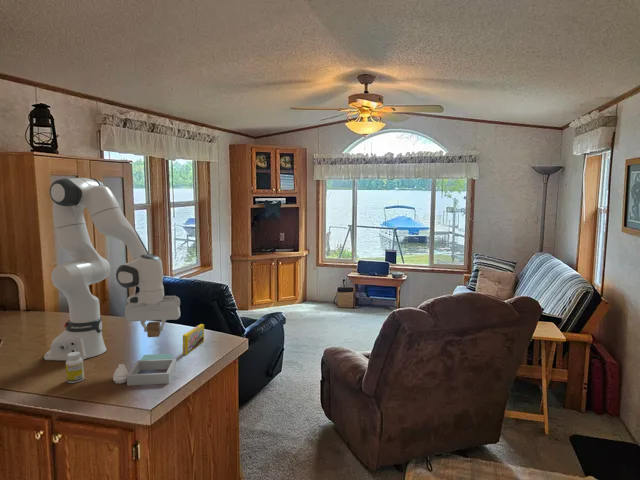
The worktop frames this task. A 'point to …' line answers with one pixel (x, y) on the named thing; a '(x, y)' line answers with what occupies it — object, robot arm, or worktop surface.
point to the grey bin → (151, 378)
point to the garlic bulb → (120, 374)
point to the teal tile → (156, 357)
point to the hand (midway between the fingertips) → (153, 331)
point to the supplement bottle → (74, 367)
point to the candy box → (193, 339)
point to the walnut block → (153, 329)
